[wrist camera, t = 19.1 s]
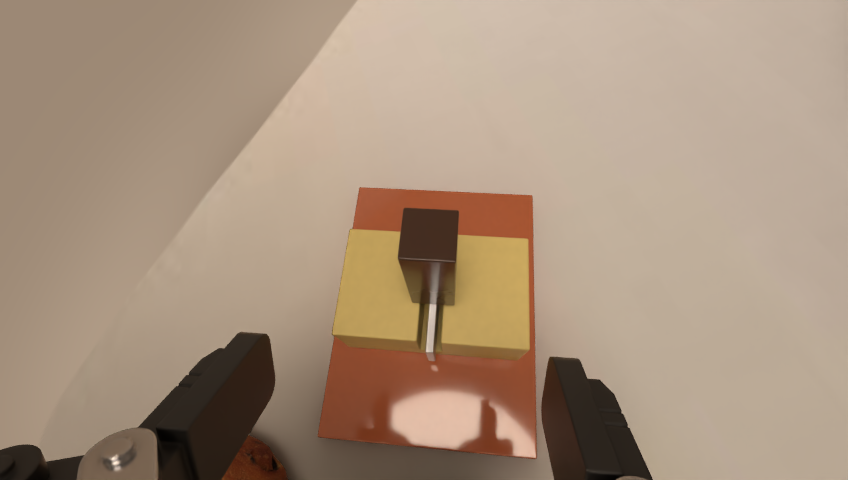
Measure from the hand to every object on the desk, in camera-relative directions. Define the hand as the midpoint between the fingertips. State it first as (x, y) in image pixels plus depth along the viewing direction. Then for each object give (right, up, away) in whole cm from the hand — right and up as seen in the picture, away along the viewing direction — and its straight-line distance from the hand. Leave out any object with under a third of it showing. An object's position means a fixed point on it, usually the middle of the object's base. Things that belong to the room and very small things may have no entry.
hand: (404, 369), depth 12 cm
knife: (+1, 0, +13) cm, 13 cm away
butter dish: (+1, -1, +15) cm, 15 cm away
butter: (+1, 0, +14) cm, 14 cm away
